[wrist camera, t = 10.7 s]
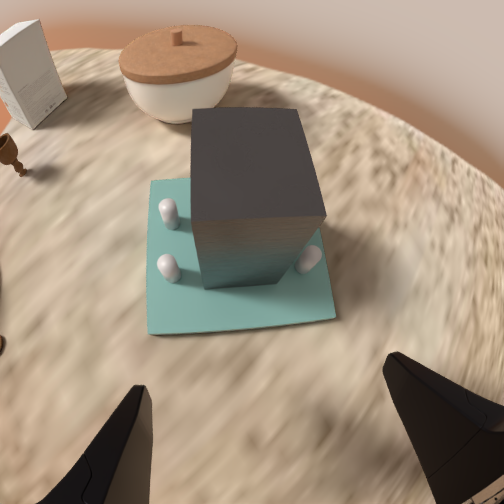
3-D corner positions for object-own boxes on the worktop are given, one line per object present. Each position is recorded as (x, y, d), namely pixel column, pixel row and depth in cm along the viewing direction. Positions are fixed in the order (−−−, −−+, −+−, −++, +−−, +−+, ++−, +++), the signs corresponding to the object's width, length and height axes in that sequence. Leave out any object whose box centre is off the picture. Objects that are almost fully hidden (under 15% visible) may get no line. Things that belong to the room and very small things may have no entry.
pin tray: (330, 319, 20) (350, 311, 17) (151, 335, 18) (137, 330, 15) (303, 181, 24) (315, 156, 21) (153, 187, 23) (145, 161, 19)
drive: (277, 284, 20) (326, 215, 10) (204, 289, 19) (190, 221, 10) (265, 206, 22) (296, 108, 13) (200, 209, 21) (192, 107, 12)
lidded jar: (161, 74, 29) (154, 10, 20) (244, 87, 29) (253, 18, 20) (114, 131, 25) (90, 58, 16) (210, 150, 25) (211, 64, 16)
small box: (68, 98, 26) (40, 17, 14) (32, 131, 24) (-8, 52, 12) (43, 88, 27) (17, 21, 15) (11, 118, 25) (-23, 52, 13)
